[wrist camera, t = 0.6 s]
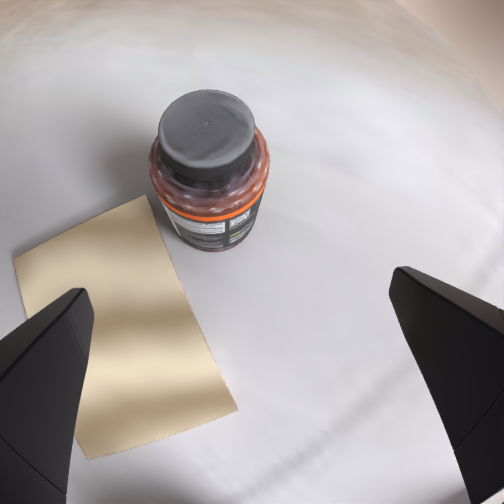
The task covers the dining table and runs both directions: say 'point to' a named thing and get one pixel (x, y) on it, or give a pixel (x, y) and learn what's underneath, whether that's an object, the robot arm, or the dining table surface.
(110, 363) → the board
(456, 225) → the dining table surface
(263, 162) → the supplement bottle
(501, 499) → the teapot
